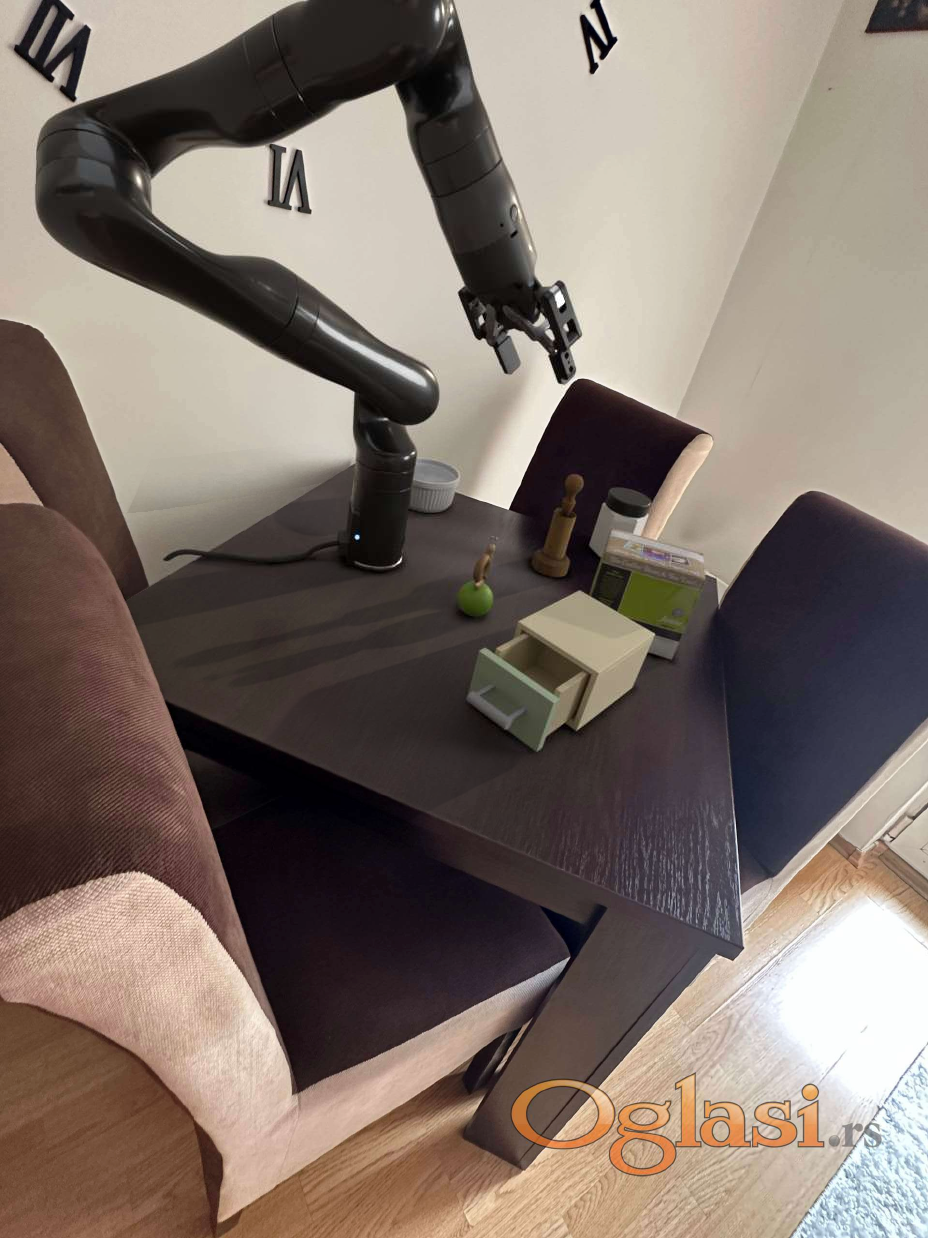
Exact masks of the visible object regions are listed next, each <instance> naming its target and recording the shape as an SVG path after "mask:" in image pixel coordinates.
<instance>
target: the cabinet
mask: <svg viewBox="0 0 928 1238" xmlns="http://www.w3.org/2000/svg"><path fill="white" fill-rule="evenodd" d="M526 632H527V633H528V634H530V635H531V636H533V637H535V638H536V639H538V640H539V641H541V642H542V643H544V644H545V645H547V646H548V647H550V648H551V649H553V650H555V651H556V652H558V653H559V654H561V655H562V656H564V657H565V658H567V659H568V660H570V661H572V662H573V663H575V664H576V665H578V666H579V667H581V668H582V669H584V670H585V671H587V672H588V673H590V674H592V675H591V678H590V680H589V683H588V686H587V688H586V691H585V693H584V696H583V699H582V701H581V704H580V707H579V709H578V712H577V714H576V715H574V716H573V717H572V718H570V719H569V720H568V721H566V722H565V723H564V724H565V725H567V726H569V727H570V728H571V729H573V730H574V731H575V732H577V731H578V730H580V729H581V728H582V727H584V726H585V725H586V724H588V723H589V722H590V721H591V720H593V719H594V718H595V717H597V716H598V715H599V714H600V713H601V712H603V711H604V710H605V709H607V708H609V706H611V705H612V704H613V703H614V702H616V701H618V700H619V699H620V698H621V697H622V696H624V695H625V694H626V693H627V692H629V691H630V690H631V689H633V688H634V685H635V683H636V681H637V678H638V675H639V673H640V671H641V668H642V666H643V664H644V661H645V659H646V657H647V654H648V653H649V652H648V650H649V648H650V645H651V643H652V641H653V638H654V636H655V634H654V633H653V632H651V631H649V630H648V629H646V628H644V627H642V626H641V625H639V624H637V623H635V622H634V621H632V620H630V619H628V618H627V617H625V616H623V615H622V614H620V613H618V612H616V611H615V610H613V609H611V608H609V607H608V606H606V605H604V604H603V603H601V602H599V601H597V600H596V599H594V598H592V597H590V596H589V594H587V593H585V592H583V591H582V590H577V591H575V592H573V593H572V594H569V595H568V596H566V597H563V598H562V599H559V600H558V601H556V602H554V603H552V604H549V605H548V606H546V607H544V608H542V609H540V610H538V611H535V612H534V613H532V614H530V615H528V616H525V617H524V618H523V619H520V620H518V621H517V625H516V628H515V631H514V635H513V639H515V638H516V637H518V636H520V635H522V634H524V633H526Z"/></svg>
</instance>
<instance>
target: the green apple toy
mask: <svg viewBox="0 0 928 1238" xmlns="http://www.w3.org/2000/svg"><path fill="white" fill-rule="evenodd" d="M489 538H490V542H489V544H488V545H487V546H486V552H485V553H484V554H481V556H479V558H478V560H477V562H476V563H475V565H474V569H473V574H472V581H469V582H466V583H465V584H464V585H462V586H461V588H460V589H459V591H458V593H457V604H458V606H459V608H460V610H461V612H463V613H464V614H466V615H468V616H470V617H481V616H483V615H485V614H487V613H488V612H489V611H490V610H491V608H492V606H493V603H494V593H493V592H492V589H491V588H490V587H489V585H487V584H486V583H485V581H486V580H487V578H488V576H489V572H490V569H491V566H492V562H493V558H494V553H495V551H496V542H497V541H498V540H499V538H498V537H497V536H494V535H491V536H490V537H489ZM492 540H494V543H492Z"/></svg>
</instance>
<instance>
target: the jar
mask: <svg viewBox="0 0 928 1238" xmlns="http://www.w3.org/2000/svg"><path fill="white" fill-rule="evenodd" d="M651 505H652V500H651V499H650V498H649V497H648V496H647V495H646V494H643V493H642V492H639V491H637V490H634V489H630V488H626V487H612V488H610V489H609V491H608V494H607V495H606V499H605V502H603V503H602V504H601V508H600V511H599V513H598V517H597V520H596V523H595V526H594V529H593V532H592V535H591V538H590V541H589V544H588V547H589V548H590V549H591V550H592V551H593V552H594V553H595V554H596V555H597V556H598V557H599V558H601V557H602V554H603V551H604V548H605V545H606V542H607V539H608V535H609V533H610V530H611V528H614V529H618V530H621V531H625V532H628V533H632V534H636V535H639V536H642V534H643V531H644V528H645V526H646V523H647V521H648V518H649V513H648V512H649V509H650V507H651Z"/></svg>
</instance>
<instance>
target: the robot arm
mask: <svg viewBox="0 0 928 1238" xmlns="http://www.w3.org/2000/svg"><path fill="white" fill-rule="evenodd" d="M392 86H394V89H395V91H396V94H397V96H398V99H399V101H400V103H401V106H402V109H403V112H404V116H405V125H406V127H405V128H406V135H407V139H408V143H409V146H410V150H411V152H412V155H413V157H414V159H415V160H414V161H415V163H416V166H417V168H418V170H419V172H420V174H421V178H422V180H423V182H424V184H425V186H426V189H427V192H428V194H429V196H430V200H431V202H432V205H433V208H434V213H435V216H436V219H437V222H438V225H439V227H440V229H441V232H442V235H443V237H444V239H445V241H446V244H447V247H448V249H449V251H450V253H451V256H452V259H453V261H454V263H455V266H456V268H457V270H458V272H459V275H460V277H461V280H462V282H463V287H461V288H460V289H459V290H458V291H457V296H458V298H459V300H460V303H461V306H462V308H463V311H464V313H465V316H466V319H467V321H468V324H469V326H470V328H471V331H472V333H473V337H474V338H475V339H476V340H477V341H482V340H485V342H486V343H487V345H488V346H489V347H491V348H493V351H494V353H495V356H496V358H497V360H498V363H499V365H500V367H501V369H502V371H503V374H504V375H510V376H511V375H513V374H514V373H515V372H516V371H517V370H518V369H519V368H520V367H521V363H522V362H521V359H520V356H519V354H518V352H517V349H516V346H515V344H514V343H515V342H514V341H513V338H512V336H511V335H508V334H509V331H512V330H516V331H518V332H522V333H524V335H526V336H527V337H528V339H530V341H532V342H537V343H539V344H540V346H542V348H543V349H544V350H545V351H546V352H547V353H548V355H547V357H548V359H549V362H550V365H551V368H552V371H553V374H554V376H555V379H556V382H557V384H559V385H562V386H563V385H564V386H565V385H567V384H568V383H569V382H570V381H571V380H572V379H573V378H574V377H575V375H576V373H577V366H576V364H575V359H574V357H573V354H572V351H571V347H572V346H573V345H574V344H576V342H577V341H578V340H580V339H581V338H582V337H583V331H582V328H581V325H580V323H579V322H580V321H579V319H578V317H577V315H576V311H575V308H574V306H573V303H572V300H571V297H570V294H569V291H568V288H567V286H566V284H565V283H564V282H563V281H562V280H560V279H558V280H556V281H555V282H554V283H553V284H552V285H549V286H543V285H542V284H541V282H540V280H539V279H538V277H537V275H536V274H535V271H536V270H535V269H536V264H537V259H538V253H537V250H536V249H537V248H536V246H535V244H534V241H533V240H534V239H533V237H532V234H531V232H530V231H531V230H530V229H529V228H530V227H529V225H528V222H527V219H526V216H525V213H524V210H523V206H522V204H521V200H520V198H519V194H518V192H517V189H516V186H515V183H514V180H513V178H512V176H511V174H510V171H509V169H508V167H507V165H506V163H505V160H504V158H503V155H502V153H501V150H500V147H499V143H498V141H497V138H496V135H495V131H494V129H493V126H492V123H491V119H490V116H489V114H488V111H487V109H486V106H485V103H484V102H483V99H482V96H481V93H480V92H479V88H478V86H477V83H476V81H475V76H474V73H473V68H472V64H471V59H470V55H469V53H468V48H467V45H466V41H465V36H464V33H463V29H462V25H461V21H460V18H459V14H458V11H457V7H456V4H455V1H454V0H300V1H296V2H294V3H292V4H289V5H287V6H285V7H283V8H281V9H279V10H278V11H275V13H271V15H269V16H267V17H266V18H264V19H262V20H261V21H259V22H258V23H256V24H255V25H253V26H251V27H249V28H248V29H246V30H245V31H243V32H241V33H240V34H239V35H237V36H235V37H234V38H232V39H231V40H230V41H228V42H226V43H225V44H223V45H221V46H219V47H218V48H216V49H214V50H213V51H211V52H208V53H207V54H205V55H202V56H200V57H199V58H197V59H196V60H193V61H191V62H189V63H187V64H185V65H182V66H180V67H178V68H175V69H173V70H171V71H168V72H165V73H162V74H160V75H158V76H155V77H153V78H150V79H149V78H148V79H147V80H144V81H142V82H139V83H136V84H133V85H131V86H128V87H124V88H122V89H120V90H117V91H114V92H111V93H108V94H105V95H101V96H98V97H96V98H92V99H89V100H86V101H84V102H81V103H78V104H75V105H73V106H71V107H68V108H66V109H63V110H61V111H58V113H55V114H54V115H53V116H51V117H49V118H48V119H47V120H46V121H45V123H44V124H43V126H41V129H40V130H39V134H38V138H37V142H36V148H35V154H36V155H35V160H36V161H35V183H34V203H35V210H36V214H37V217H38V219H39V222H40V224H41V225H42V227H43V229H44V230H45V231H46V232H47V234H48V235H49V236H50V237H51V238H52V239H53V240H54V241H55V242H56V243H58V244H59V245H60V246H61V247H63V248H64V249H65V250H67V251H68V252H70V253H71V254H73V255H74V256H76V257H78V258H79V259H82V260H83V261H85V262H86V263H89V264H91V265H93V266H95V267H97V268H99V269H101V270H103V271H105V272H108V273H110V274H112V275H114V276H116V277H119V278H121V279H124V280H125V281H128V282H131V283H132V284H135V285H138V286H139V287H142V288H145V289H146V290H149V291H152V292H153V293H156V294H157V295H160V296H162V297H165V298H167V299H169V300H170V301H173V302H175V303H178V304H179V305H182V306H184V307H185V308H187V309H189V310H191V311H194V312H195V313H197V314H199V315H201V316H203V317H204V318H207V319H209V320H211V321H212V322H214V323H216V324H218V325H219V326H222V327H224V328H225V329H228V330H229V331H231V332H233V333H235V334H236V335H237V336H240V337H241V338H243V339H245V340H246V341H248V342H249V343H250V344H252V345H254V346H256V347H257V348H260V349H262V350H263V351H265V352H267V353H268V354H270V355H272V356H274V357H276V358H277V359H280V360H282V361H284V362H285V363H287V364H290V365H292V366H295V367H296V368H298V369H300V370H302V371H305V372H307V373H309V374H311V375H314V376H315V377H318V378H321V379H324V380H326V381H328V382H330V383H333V384H336V385H337V386H340V387H343V388H345V389H348V390H349V391H351V392H353V411H352V412H353V415H352V437H353V441H354V444H355V460H354V469H353V480H352V491H351V496H350V497H349V502H348V512H347V522H346V530H338V532H337V540H332V541H327V542H324V543H319V544H317V545H315V546H314V545H313V546H312V547H311V548H310V549H308V550H307V551H305V552H302V553H299V554H296V555H295V554H294V555H291V556H281V557H259V556H258V557H257V556H248V555H247V556H245V555H240V554H234V553H224V552H214V551H206V550H205V551H204V550H198V549H191V548H183V549H177V550H175V551H172V552H170V553H168V554H167V555H166V556H164V557H163V559H162V561H163V562H170V561H172V560H173V559H174V558H177V557H180V556H185V555H190V556H199V557H205V558H214V559H215V558H216V559H227V560H232V561H239V562H246V563H257V564H259V563H260V564H264V563H266V564H268V563H269V564H273V563H274V564H276V563H277V564H278V563H279V564H281V563H289V562H290V563H291V562H295V561H299V560H303V559H307V558H309V557H310V556H312V555H313V554H314V553H317V552H318V551H321V550H324V549H327V548H332V547H336V546H337V551H338V556H345V560H346V565H347V566H352V567H356V568H358V569H361V570H364V571H368V572H375V573H376V572H377V573H380V572H381V573H382V572H389V571H393V570H395V569H397V568H398V567H400V566H401V564H402V560H403V553H404V546H405V543H406V532H407V525H408V518H409V510H410V509H409V505H410V498H411V492H412V485H413V479H414V472H415V466H416V460H417V457H418V448H417V446H416V443H415V442H414V441H413V439H412V438H411V436H410V434H409V432H408V430H407V426H410V427H411V426H416V425H419V424H423V423H425V422H426V421H427V420H429V419H431V417H432V416H433V415H434V414H435V412H436V411H437V410H438V409H437V408H438V406H439V402H440V398H441V397H440V396H441V394H440V393H441V391H440V385H439V381H438V379H437V377H436V375H435V373H434V371H433V370H432V369H431V368H430V367H429V366H428V365H427V364H426V363H425V362H424V361H422V360H420V359H418V358H416V357H414V356H412V355H410V354H408V353H405V352H403V351H401V350H399V349H397V348H394V347H392V346H390V345H388V344H387V343H385V342H384V341H382V340H381V339H379V338H378V337H377V336H375V335H374V334H373V333H371V332H370V331H368V329H366V328H365V326H363V325H362V324H361V323H360V322H358V321H357V320H356V318H354V317H353V316H351V315H350V314H349V312H347V311H346V310H344V309H343V308H342V307H341V306H340V305H338V304H337V303H335V301H333V300H332V299H330V298H329V297H327V296H326V295H325V294H324V293H323V292H321V291H320V290H319V289H318V288H316V287H315V286H314V285H312V284H311V283H310V282H308V281H307V280H305V279H304V278H303V277H301V276H300V275H298V274H297V273H295V272H294V271H293V270H291V269H290V268H288V267H287V266H285V265H283V264H281V263H280V262H278V261H276V260H274V259H271V258H267V257H263V256H257V255H239V254H236V255H235V254H220V253H216V252H212V251H210V250H207V249H205V248H203V247H201V246H199V245H197V244H196V243H194V242H192V241H191V240H189V239H188V238H186V237H184V236H182V235H181V234H179V233H178V232H176V231H175V230H174V229H172V228H170V227H169V226H168V225H166V224H165V223H164V222H163V221H162V220H160V219H159V218H158V217H157V216H156V215H155V214H154V213H153V199H152V197H153V196H152V181H153V179H154V178H156V176H157V175H158V174H160V173H161V172H162V171H163V170H164V169H165V168H166V167H168V166H169V165H170V164H172V163H173V162H174V161H176V160H177V159H179V158H180V157H182V156H184V155H186V154H189V153H191V152H194V151H197V150H203V149H208V148H209V149H212V148H213V149H214V148H218V149H219V148H220V149H223V148H224V149H254V148H255V149H256V148H261V147H265V146H269V145H272V144H275V143H278V142H280V141H282V140H284V139H286V138H288V137H290V136H293V135H294V134H296V133H298V132H299V131H301V130H303V129H305V128H306V127H308V126H310V125H312V124H314V123H315V122H317V121H319V120H321V119H323V118H325V117H326V116H328V115H330V114H332V113H333V112H335V110H337V109H338V108H340V107H341V106H344V105H345V104H346V103H350V102H353V101H355V100H360V99H361V98H364V97H367V96H369V95H372V94H375V93H377V92H380V91H383V90H385V89H388V88H391V87H392ZM541 315H542V316H543V317H544V320H543V322H541V324H539V325H538V326H535V324H536V323H537V322H538V321H539V319H540V316H541ZM481 316H482V319H483V322H482V323H480V320H479V319H480V317H481ZM565 325H566V327H567V330H566V329H565ZM548 330H550V331H551V333H552V335H553V340H552V338H551V337H550V336H549V335H548V334H547V333H546V331H548Z"/></svg>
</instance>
